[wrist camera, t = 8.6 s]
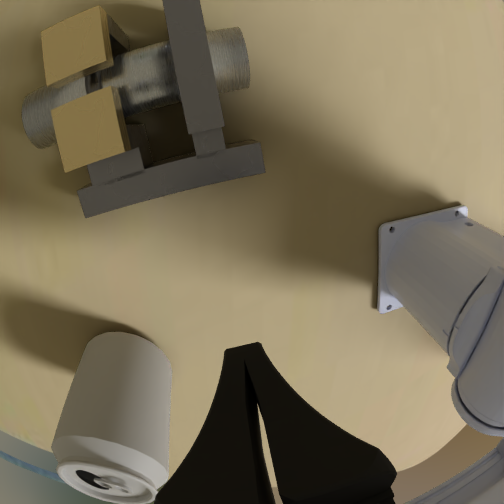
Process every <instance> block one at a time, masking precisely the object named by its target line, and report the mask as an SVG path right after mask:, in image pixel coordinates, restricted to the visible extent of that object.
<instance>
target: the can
mask: <svg viewBox="0 0 504 504" xmlns="http://www.w3.org/2000/svg"><path fill="white" fill-rule="evenodd" d="M171 384H172V369H171V365H170V361H169V360H168V358H167V357H166V356H165V354H164V353H163V351H162V350H160V349H159V348H158V347H157V346H155V345H154V344H153V343H152V342H150V341H148V340H146V339H144V338H142V337H140V336H138V335H134V334H129V333H125V332H106V333H103V334H100V335H97V336H95V337H94V338H93V339H92V340H90V341H89V342H88V343H87V346H86V348H85V350H84V353H83V355H82V358H81V360H80V363H79V366H78V368H77V371H76V373H75V376H74V379H73V382H72V384H71V387H70V390H69V393H68V396H67V398H66V401H65V404H64V407H63V410H62V413H61V417H60V420H59V423H58V426H57V429H56V433H55V436H54V439H53V443H52V446H51V448H52V451H53V453H54V455H55V457H56V459H57V461H58V463H59V464H58V465H57V468H56V471H57V473H58V475H59V476H60V478H61V479H63V480H64V481H65V482H66V483H67V484H68V485H70V486H71V487H73V488H75V489H77V490H78V491H80V492H82V493H84V494H87V495H89V496H92V497H95V498H98V499H101V500H104V501H108V502H113V503H119V504H145V503H150V502H152V501H154V500H155V496H156V494H157V493H158V491H157V490H156V489H158V488H159V487H160V486H162V485H163V484H164V483H166V482H167V480H168V476H169V428H170V403H171Z"/></svg>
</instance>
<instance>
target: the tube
mask: <svg viewBox="0 0 504 504" xmlns="http://www.w3.org/2000/svg"><path fill="white" fill-rule="evenodd" d="M206 35H207V40H208V45H209V50H210V55H211V60H212V65H213V70H214V75H215V80H216V85H217V90H218V93H224V92H229V91H234V90H240V89H246V88H249V85H250V69H249V60H248V54H247V49H246V45H245V41H244V38H243V35H242V32H241V30H240V28H239V27H234V28H227V29H220V30H214V31H209V32H206ZM113 62H114V66H111V67H108V68H105V69H103V70H100V71H97V72H95V73H92V74H90V75H87V76H85V77H82V78H80V79H78V80H75V81H73V82H71V83H68V84H66V85H64V86H62V87H59V88H54V87H48V86H47V85H45V86H43V87H41V88H39V89H38V90H36V91H34V92H32V93H30V94H28V95H27V96H26V97H25V99H24V101H23V105H22V121H23V126H24V129H25V132H26V134H27V136H28V138H29V140H30V141H31V142H32V143H33V144H34V145H35V146H36V147H37V148H40V149H45V148H47V147H50V146H52V145H54V144H56V143H57V139H56V134H55V130H54V125H53V120H52V115H51V110H52V109H54V108H57V107H59V106H61V105H63V104H65V103H68V102H70V101H72V100H75V99H77V98H80V97H82V96H85V95H87V94H90V93H92V92H95V91H97V90H100V89H103V88H105V87H108V86H113V87H116V88H118V90H119V95H120V100H121V105H122V110H123V115H124V118H126V117H129V116H132V115H135V114H138V113H142V112H145V111H148V110H152V109H155V108H159V107H163V106H166V105H170V104H174V103H178V102H182V101H181V96H180V91H179V86H178V81H177V76H176V71H175V66H174V61H173V56H172V50H171V45H170V40H167V41H163V42H159V43H156V44H152V45H149V46H145V47H142V48H138V49H135V50H132V51H129V52H126V53H123V54H120V55H117V56H114V57H113Z"/></svg>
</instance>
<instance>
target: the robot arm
mask: <svg viewBox="0 0 504 504" xmlns="http://www.w3.org/2000/svg"><path fill="white" fill-rule="evenodd" d="M455 212H456V213H455ZM467 212H468V210H467V207H466V206H464V205H460V206H456V207H451V208H447V209H443V210H439V211H434V212H430V213H426V214H422V215H417V216H413V217H409V218H405V219H400V220H396V221H392V222H388V223H384V224H382V225H381V226H380V228H379V276H378V303H377V310H378V312H379V313H380V314H384V313H387V312H389V311H392V310H395V309H398V308H401V307H403V306H404V307H405V308H406V309H407V310H408V312H409V313H410V314H411V315H412V316H413V317H414V318H415V319H416V320H417V321H418V322H419V323H420V324H421V325H422V326H423V328H424V329H425V330H426V331H427V332H428V333H429V334H430V335H431V336H432V337H433V338H434V340H435V341H436V342H437V343H438V344H439V345H440V346H441V347H442V348H443V350H444V351H445V352H446V353H447V354H448V355H449V356H450V360H449V363H448V365H447V369H448V370H449V371H450V372H451V374H452V375H453V376H454V377H455V379H454V382H453V384H452V388H451V396H452V401H453V404H454V406H455V408H456V410H457V412H458V414H459V415H460V416H461V418H462V419H463V420H464V421H465V422H466V423H467V424H468V425H469V426H471V427H472V428H474V429H475V430H477V431H479V432H481V433H483V434H487V435H491V436H502V437H503V439H502V440H501V441H500V442H499V443H498V445H497V447H496V448H494V449H493V450H492V451H490V452H489V453H488V454H486V455H485V456H483V457H482V458H481V459H479V460H478V461H476V462H475V463H474V464H472V465H471V466H469V467H468V468H466V469H465V470H463V471H462V472H460V473H458V474H457V475H455V476H454V477H452V478H450V479H449V480H448V481H446V482H444V483H442V484H440V485H439V486H437V487H435V488H433V489H432V490H430V491H428V492H426V493H424V494H422V495H420V496H418V497H417V498H415V499H413V500H411V501H409V502H406V503H405V504H504V236H502V235H500V234H498V233H497V232H495V231H493V230H491V229H489V228H487V227H485V226H483V225H481V224H479V223H478V222H476V221H474V220H472V219H470V218H468V217H467ZM391 227H392V230H391V231H389V229H390V228H391ZM388 305H389V306H388ZM387 306H388V307H387ZM257 404H258V406H259V409H260V412H261V415H262V418H263V421H264V425H265V430H266V434H267V439H268V444H269V448H270V453H271V458H272V462H273V467H274V472H275V476H276V481H277V486H278V491H279V495H280V497H281V499H282V502H283V504H395V502H394V500H393V497H394V493H393V492H392V489H391V485H392V483H393V482H394V480H395V478H396V475H397V472H396V470H395V468H394V466H393V465H392V463H391V462H390V461H389V459H388V458H387V457H386V456H385V455H384V454H383V453H382V451H381V450H380V449H379V448H377V447H375V446H372V445H370V444H368V443H366V442H364V441H362V440H360V439H358V438H356V437H355V436H353V435H351V434H350V433H348V432H346V431H344V430H343V429H341V428H340V427H338V426H337V425H335V424H334V423H332V422H331V421H330V420H328V419H327V418H325V417H324V416H323V415H321V414H320V413H319V412H318V411H316V410H315V409H314V408H313V407H312V406H310V405H309V404H308V403H307V402H306V401H305V400H304V399H303V398H302V397H301V396H300V395H298V394H297V392H296V391H295V390H294V389H293V388H292V387H291V386H290V385H289V384H288V383H287V382H286V381H285V379H284V378H283V377H282V376H281V374H280V373H279V372H278V371H277V369H276V368H275V367H274V365H273V364H272V362H271V361H270V359H269V358H268V356H267V355H266V353H265V351H264V349H263V347H262V344H261V343H259V342H255V343H251V344H247V345H242V346H238V347H234V348H229V349H226V350H225V352H224V360H223V366H222V371H221V375H220V379H219V383H218V386H217V390H216V393H215V396H214V399H213V402H212V405H211V408H210V410H209V413H208V415H207V418H206V420H205V422H204V425H203V427H202V429H201V431H200V433H199V435H198V437H197V439H196V440H195V442H194V444H193V446H192V448H191V449H190V451H189V453H188V454H187V456H186V457H185V459H184V460H183V462H182V463H181V464H180V466H179V467H178V469H177V470H176V472H175V473H174V474H173V476H172V477H171V478H170V479H169V480H168V482H167V483H166V484H165V485H164V486H163V488H162V489H161V490H160V491H159V492H158V493H157V494H156V496H155V501H154V504H276V503H275V499H274V495H273V492H272V488H271V484H270V480H269V476H268V471H267V467H266V463H265V459H264V453H263V447H262V439H261V431H260V423H259V414H258V406H257Z"/></svg>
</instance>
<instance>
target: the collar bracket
mask: <svg viewBox="0 0 504 504" xmlns="http://www.w3.org/2000/svg"><path fill="white" fill-rule="evenodd" d="M163 6H164V12H165V17H166V23H167V29H168V34H169V40H170V45H171V50H172V56H173V61H174V66H175V71H176V76H177V81H178V86H179V91H180V96H181V101H182V106H183V110H184V115H185V120H186V125H187V129H188V134H192V138H193V142H194V147H195V151H196V152H192V153H188V154H184V155H180V156H176V157H172V158H168V159H164V160H161V161H157V162H153V159H152V155H151V150H150V146H149V142H148V138H147V133H146V129H145V125H126V124H125V119H124V115H123V110H122V105H121V100H120V95H119V90H118V88H116V87H113V86H108V87H105V88H103V89H100V90H97V91H95V92H92V93H90V94H87V95H85V96H82V97H80V98H77V99H75V100H72V101H70V102H68V103H65V104H63V105H61V106H59V107H57V108H54V109H52V110H51V115H52V120H53V125H54V130H55V134H56V139H57V143H58V147H59V152H60V156H61V160H62V164H63V167H64V171H65V173H66V172H69V171H72V170H74V169H77V168H80V167H82V166H85V165H87V168H88V171H89V175H90V179H91V183H90V184H88V185H86V186H84V187H83V188H81V189H79V190H78V191H77V193H78V196H79V199H80V203H81V206H82V209H83V212H84V215H85V218H89V217H92V216H95V215H98V214H101V213H105V212H108V211H111V210H115V209H118V208H122V207H125V206H129V205H132V204H136V203H139V202H143V201H146V200H150V199H154V198H158V197H161V196H165V195H169V194H173V193H177V192H181V191H185V190H189V189H193V188H197V187H201V186H206V185H210V184H214V183H219V182H223V181H228V180H232V179H237V178H241V177H246V176H251V175H256V174H261V173H266V172H265V166H264V161H263V155H262V150H261V144H260V142H257V141H254V140H247V141H242V142H237V143H232V144H228V145H225V142H224V137H223V132H222V127H224V126H225V124H224V119H223V114H222V109H221V104H220V99H219V94H218V90H217V85H216V80H215V75H214V70H213V65H212V60H211V55H210V50H209V45H208V40H207V35H206V30H205V25H204V20H203V15H202V10H201V5H200V0H163ZM41 40H42V52H43V62H44V70H45V78H46V85H47V86H48V87H54V88H59V87H62V86H64V85H66V84H68V83H71V82H73V81H75V80H78V79H80V78H82V77H85V76H87V75H90V74H92V73H95V72H97V71H100V70H103V69H105V68H108V67H111V66H114V62H113V57H114V56H117V55H120V54H123V53H126V52H129V51H130V47H129V40H128V36H127V35H126V34H125V33H124V32H123V31H122V29H121V28H120V27H119V26H118V25H117V24H116V23H115V22H114V21H113V20H112V18H111V17H110V16H109V15H108V14H107V13H106V12H105V11H104V10H103V9H102V8H101V7H100V6H99V5H98V6H96V7H93V8H91V9H88V10H86V11H83V12H81V13H79V14H76V15H74V16H72V17H70V18H67V19H65V20H63V21H61V22H59V23H57V24H55V25H53V26H51V27H49V28H47V29H45V30H43V31H41Z"/></svg>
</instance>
